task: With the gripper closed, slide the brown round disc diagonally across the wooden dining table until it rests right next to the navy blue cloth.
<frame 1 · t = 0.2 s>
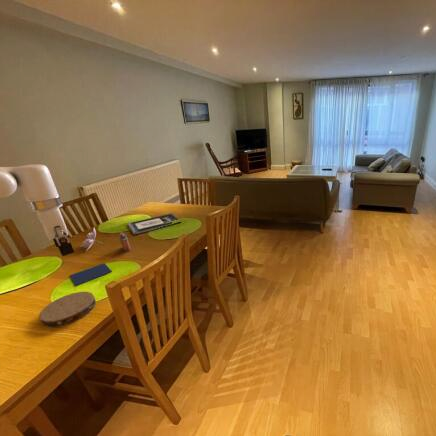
hand: (65, 249, 84), 27 cm above the table, tool pointing down, fingers open, 9 cm apart
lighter: (127, 249, 139), on the table
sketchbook: (154, 224, 172), on the table
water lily: (91, 246, 142), on the table
cloth: (91, 274, 116), on the table
brown round disc: (70, 311, 93), on the table
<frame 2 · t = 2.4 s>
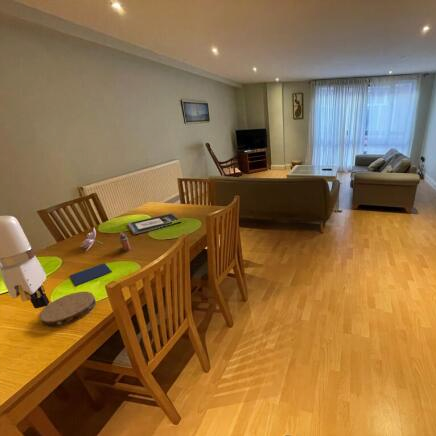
hand: (42, 305, 78), 13 cm above the table, tool pointing down, fingers closed
nothing on the table moved.
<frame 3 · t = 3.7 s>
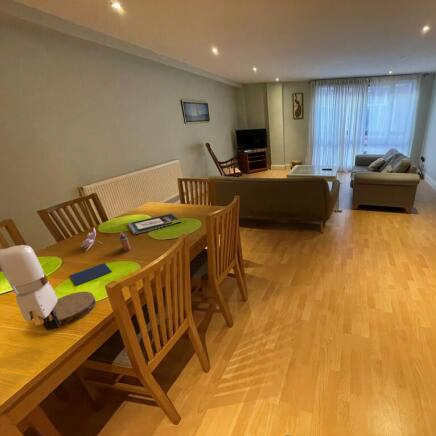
hand: (53, 327, 81), 4 cm above the table, tool pointing down, fingers closed
nothing on the table moved.
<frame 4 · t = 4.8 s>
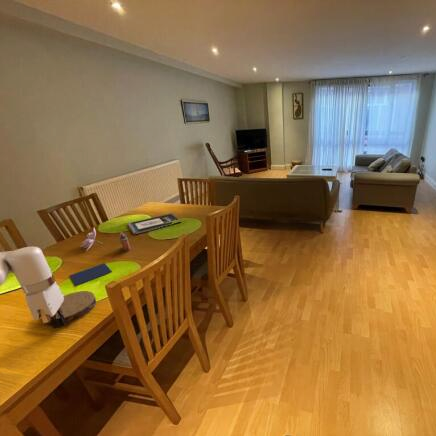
hand: (60, 325, 85), 1 cm above the table, tool pointing down, fingers closed
brown round disc: (71, 310, 94), on the table, touching gripper
everything else where it was.
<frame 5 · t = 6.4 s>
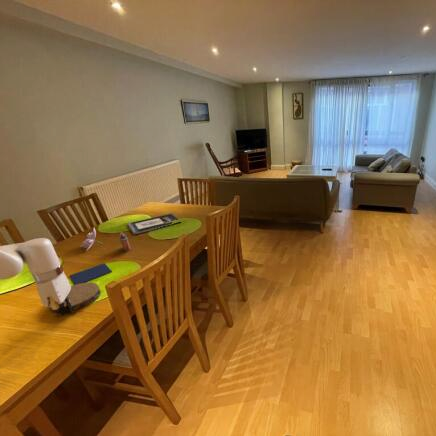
hand: (67, 313, 91), 1 cm above the table, tool pointing down, fingers closed
brown round disc: (77, 300, 99), on the table, touching gripper
everything else where it was.
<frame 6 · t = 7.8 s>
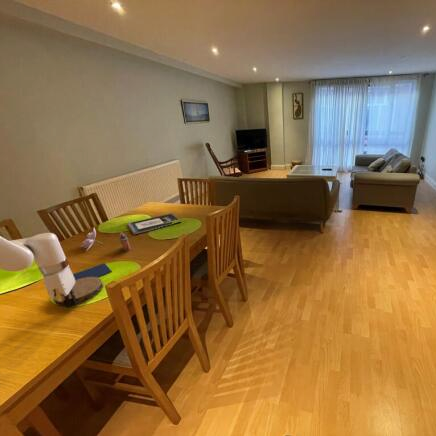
hand: (72, 305, 94), 1 cm above the table, tool pointing down, fingers closed
brown round disc: (80, 294, 103), on the table, touching gripper
everything else where it was.
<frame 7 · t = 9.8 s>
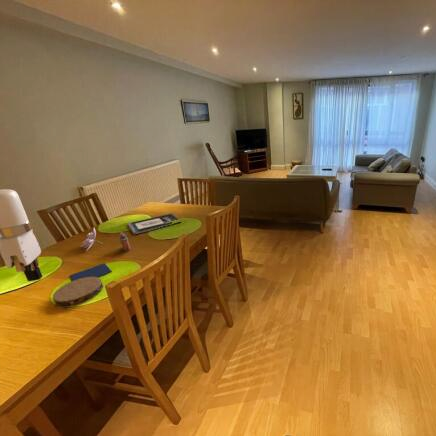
hand: (35, 279, 81), 19 cm above the table, tool pointing down, fingers closed
brown round disc: (80, 294, 103), on the table
everything else where it was.
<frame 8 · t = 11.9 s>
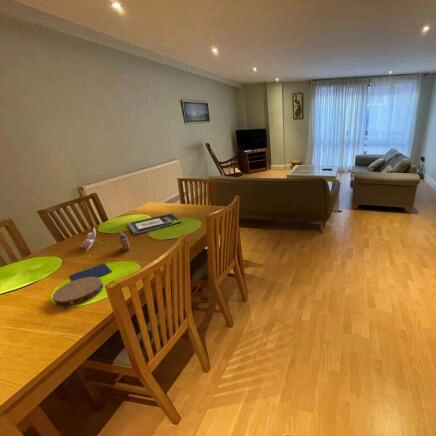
nothing on the table moved.
at the end: brown round disc inside the target area on the table beside the cloth (1.1 cm from its centre), on the table; brown round disc moved 11.2 cm from its start; brown round disc tilted 0° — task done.
